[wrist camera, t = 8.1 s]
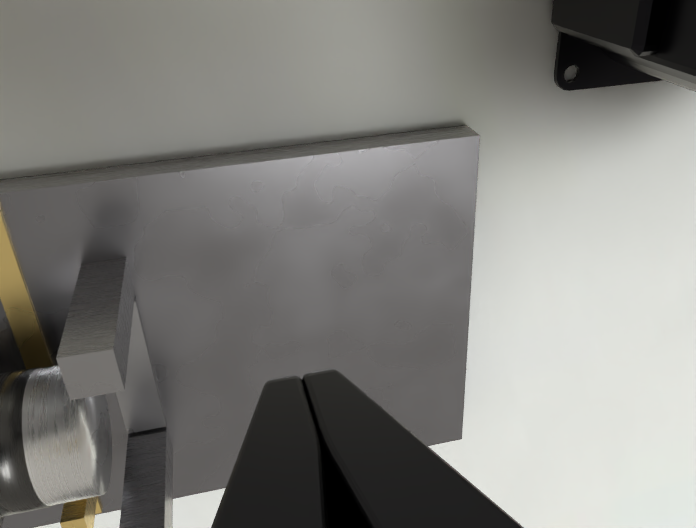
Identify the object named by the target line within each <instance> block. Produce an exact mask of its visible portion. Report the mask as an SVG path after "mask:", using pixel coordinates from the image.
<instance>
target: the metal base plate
mask: <svg viewBox="0 0 696 528" xmlns="http://www.w3.org/2000/svg"><path fill="white" fill-rule="evenodd" d="M479 142H480V135H479V134H478V133H476V132H475V131H474V130H472V129H471V128H470V127H468V126H467V125H465V126H456V127H448V128H439V129H431V130H422V131H414V132H405V133H397V134H388V135H380V136H371V137H362V138H354V139H345V140H337V141H328V142H320V143H311V144H303V145H294V146H286V147H277V148H269V149H260V150H252V151H243V152H234V153H226V154H217V155H209V156H200V157H192V158H183V159H175V160H166V161H158V162H149V163H141V164H132V165H124V166H115V167H106V168H98V169H89V170H81V171H72V172H64V173H55V174H47V175H38V176H30V177H21V178H13V179H4V180H0V374H1V373H7V372H13V371H19V370H25V369H32V368H38V367H39V368H44V367H50V366H56V365H58V366H59V369H60V372H61V375H62V378H63V381H64V384H65V387H66V390H67V393H68V396H69V399H70V400H75V399H81V398H87V397H92V396H98V395H104V394H105V395H106V399H107V404H108V410H109V417H110V425H111V436H112V470H111V478H110V483H109V487H108V489H107V491H106V493H105V494H104V495H101V496H96V497H91V498H86V499H81V500H76V501H71V502H66V503H61V504H56V505H54V506H52V507H48V508H43V509H38V510H33V511H28V512H23V513H18V514H13V515H8V516H3V517H0V528H34V527H38V526H43V525H48V524H53V523H58V522H60V524H61V527H62V528H93V526H94V518H95V515H97V514H101V513H106V512H111V511H116V510H121V518H120V528H172V519H173V499H174V498H179V497H184V496H188V495H193V494H198V493H203V492H208V491H213V490H218V489H222V488H226V486H227V484H228V481H229V478H230V476H231V473H232V470H233V468H234V465H235V462H236V459H237V457H238V454H239V451H240V449H241V446H242V443H243V441H244V438H245V435H246V432H247V430H248V427H249V424H250V422H251V419H252V416H253V414H254V411H255V408H256V405H257V403H258V400H259V397H260V395H261V392H262V389H263V387H264V385H265V383H266V382H267V381H268V380H271V379H276V378H282V377H287V376H293V375H297V376H299V377H300V378H301V379H302V378H303V375H304V374H306V373H310V372H315V371H321V370H326V369H336V370H338V371H340V372H341V373H342V374H343V375H344V376H346V377H347V378H348V379H349V380H350V381H351V382H353V383H354V384H355V385H356V386H357V387H359V388H360V389H361V390H362V391H363V392H364V393H366V394H367V395H368V396H369V397H370V398H371V399H373V400H374V401H375V402H376V403H377V404H379V405H380V406H381V407H382V408H383V409H384V410H386V411H387V412H388V413H389V414H390V415H392V416H393V417H394V418H395V419H396V420H397V421H399V422H400V423H401V424H402V425H403V426H404V427H406V428H407V429H408V430H409V431H410V432H412V433H413V434H414V435H415V436H416V437H417V438H419V439H420V440H421V441H422V442H423V443H425V444H426V445H427V446H430V445H435V444H440V443H445V442H450V441H455V440H460V439H462V426H463V409H464V393H465V376H466V359H467V343H468V326H469V309H470V293H471V276H472V259H473V242H474V226H475V209H476V192H477V176H478V159H479Z"/></svg>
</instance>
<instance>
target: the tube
mask: <svg viewBox="0 0 696 528" xmlns="http://www.w3.org/2000/svg"><path fill="white" fill-rule="evenodd" d="M111 470H112V436H111V425H110V417H109V410H108V404H107V399H106V395H105V394H104V395H98V396H92V397H87V398H81V399H75V400H70V399H69V396H68V393H67V390H66V387H65V384H64V381H63V378H62V375H61V372H60V369H59V366H58V365H56V366H50V367H44V368H39V367H38V368H32V369H25V370H19V371H13V372H7V373H1V374H0V517H3V516H8V515H13V514H18V513H23V512H28V511H33V510H38V509H43V508H48V507H52V506H54V505H56V504H61V503H66V502H71V501H76V500H81V499H86V498H91V497H96V496H101V495H104V494H105V493H106V491H107V489H108V487H109V483H110V478H111Z"/></svg>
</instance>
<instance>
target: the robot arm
mask: <svg viewBox="0 0 696 528" xmlns="http://www.w3.org/2000/svg"><path fill="white" fill-rule="evenodd" d="M551 21H552V24H553V25H554V27H555V28H556V29H557V30H558V31H559V34H558V43H557V52H556V61H555V70H554V81H555V83H556V85H557V86H558V87H560V88H561V89H563V90H569V91H570V90H579V89H588V88H597V87H606V86H615V85H624V84H633V83H642V82H651V81H660V80H665V81H668V82H671V83H673V84H676V85H679V86H682V87H684V88H687V89H690V90H693V91H695V92H696V0H554V1H553V10H552V20H551ZM572 65H575V67H576V68H577V73H576V76H575V77H574V78H573V79H572V80H570V81H566V80H565V79H564V73H565V70H566V69H567V68H568V67H569V66H572ZM211 528H524V527H522V526H521V525H520V524H519V523H518V522H516V521H515V520H514V519H513V518H512V517H511V516H509V515H508V514H507V513H506V512H505V511H504V510H502V509H501V508H500V507H499V506H498V505H496V504H495V503H494V502H493V501H492V500H491V499H489V498H488V497H487V496H486V495H485V494H483V493H482V492H481V491H480V490H479V489H478V488H476V487H475V486H474V485H473V484H472V483H470V482H469V481H468V480H467V479H466V478H465V477H463V476H462V475H461V474H460V473H459V472H458V471H456V470H455V469H454V468H453V467H452V466H450V465H449V464H448V463H447V462H446V461H445V460H443V459H442V458H441V457H440V456H439V455H437V454H436V453H435V452H434V451H433V450H432V449H430V448H429V447H428V446H427V445H426V444H425V443H423V442H422V441H421V440H420V439H419V438H417V437H416V436H415V435H414V434H413V433H412V432H410V431H409V430H408V429H407V428H406V427H404V426H403V425H402V424H401V423H400V422H399V421H397V420H396V419H395V418H394V417H393V416H392V415H390V414H389V413H388V412H387V411H386V410H384V409H383V408H382V407H381V406H380V405H379V404H377V403H376V402H375V401H374V400H373V399H371V398H370V397H369V396H368V395H367V394H366V393H364V392H363V391H362V390H361V389H360V388H359V387H357V386H356V385H355V384H354V383H353V382H351V381H350V380H349V379H348V378H347V377H346V376H344V375H343V374H342V373H341V372H340V371H338V370H336V369H326V370H321V371H315V372H310V373H306V374H304V375H303V378H302V379H301V378H300V377H299V376H297V375H293V376H287V377H282V378H276V379H271V380H268V381H267V382H266V383H265V385H264V387H263V389H262V392H261V395H260V397H259V400H258V403H257V405H256V408H255V411H254V414H253V416H252V419H251V422H250V424H249V427H248V430H247V432H246V435H245V438H244V441H243V443H242V446H241V449H240V451H239V454H238V457H237V459H236V462H235V465H234V468H233V470H232V473H231V476H230V478H229V481H228V484H227V486H226V489H225V492H224V495H223V497H222V500H221V503H220V505H219V508H218V511H217V513H216V516H215V519H214V522H213V524H212V527H211Z"/></svg>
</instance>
